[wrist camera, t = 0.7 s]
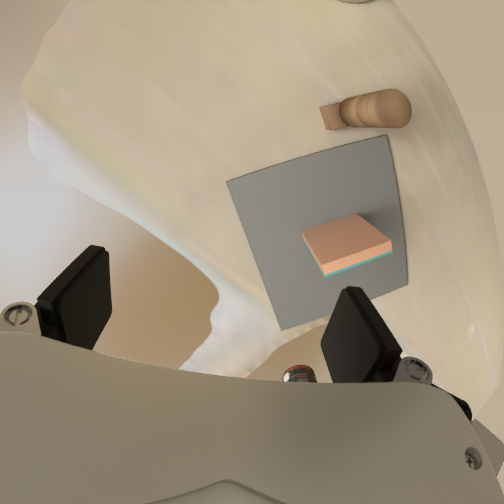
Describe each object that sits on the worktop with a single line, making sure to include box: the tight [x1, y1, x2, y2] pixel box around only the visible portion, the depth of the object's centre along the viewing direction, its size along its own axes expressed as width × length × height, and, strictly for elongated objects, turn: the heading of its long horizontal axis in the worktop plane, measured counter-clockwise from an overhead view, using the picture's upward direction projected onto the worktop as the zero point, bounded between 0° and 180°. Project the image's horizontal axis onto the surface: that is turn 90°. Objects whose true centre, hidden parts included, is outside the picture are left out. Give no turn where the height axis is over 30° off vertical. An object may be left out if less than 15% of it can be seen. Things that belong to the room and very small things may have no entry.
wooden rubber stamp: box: [319, 89, 412, 130], centre depth 26 cm, size 6×4×13 cm, turn 109°
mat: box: [226, 135, 407, 331], centre depth 38 cm, size 22×24×1 cm
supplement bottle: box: [282, 365, 317, 383], centre depth 44 cm, size 6×6×11 cm
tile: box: [302, 213, 393, 277], centre depth 33 cm, size 8×2×10 cm, turn 109°
